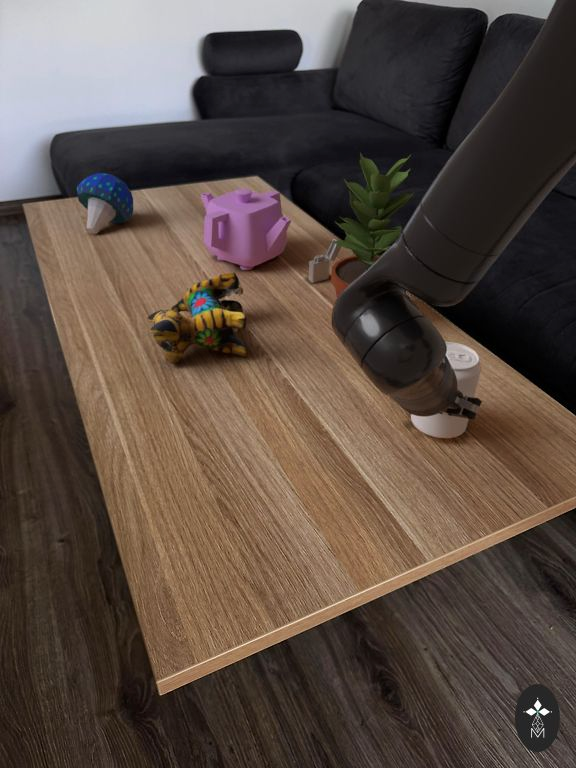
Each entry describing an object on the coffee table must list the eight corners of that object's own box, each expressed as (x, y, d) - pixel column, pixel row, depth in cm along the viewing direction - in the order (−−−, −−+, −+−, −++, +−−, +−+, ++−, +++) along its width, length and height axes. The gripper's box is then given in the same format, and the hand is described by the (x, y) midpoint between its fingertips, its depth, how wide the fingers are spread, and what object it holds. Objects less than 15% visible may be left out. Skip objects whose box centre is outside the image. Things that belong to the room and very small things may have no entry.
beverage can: (410, 405, 91) (422, 337, 85) (464, 411, 90) (480, 343, 83) (409, 437, 85) (422, 366, 78) (467, 445, 83) (485, 374, 77)
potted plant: (320, 296, 119) (327, 140, 101) (394, 293, 120) (414, 139, 102) (331, 336, 107) (341, 167, 89) (413, 332, 108) (439, 165, 90)
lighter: (312, 283, 124) (313, 247, 119) (308, 279, 125) (309, 244, 120) (340, 275, 126) (342, 240, 122) (336, 272, 128) (338, 237, 123)
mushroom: (53, 207, 136) (80, 153, 140) (74, 236, 150) (98, 187, 153) (110, 225, 135) (135, 170, 139) (126, 253, 149) (148, 203, 152)
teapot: (204, 241, 140) (199, 177, 131) (280, 238, 142) (280, 174, 133) (206, 278, 125) (200, 209, 116) (291, 274, 127) (292, 205, 118)
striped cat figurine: (239, 330, 116) (146, 336, 112) (239, 268, 111) (142, 271, 106) (262, 369, 99) (153, 378, 94) (263, 298, 93) (148, 303, 89)
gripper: (489, 365, 64) (497, 397, 79) (378, 329, 69) (406, 365, 85) (462, 430, 63) (476, 449, 79) (353, 387, 69) (385, 413, 84)
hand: (439, 405), depth 82 cm, fingers closed
